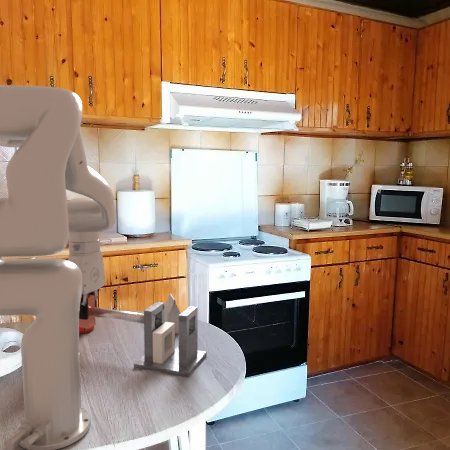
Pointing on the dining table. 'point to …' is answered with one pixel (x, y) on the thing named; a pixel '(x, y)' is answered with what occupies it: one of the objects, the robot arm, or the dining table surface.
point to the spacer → (163, 342)
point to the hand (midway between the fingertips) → (86, 315)
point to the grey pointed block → (172, 312)
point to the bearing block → (183, 355)
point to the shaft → (108, 314)
